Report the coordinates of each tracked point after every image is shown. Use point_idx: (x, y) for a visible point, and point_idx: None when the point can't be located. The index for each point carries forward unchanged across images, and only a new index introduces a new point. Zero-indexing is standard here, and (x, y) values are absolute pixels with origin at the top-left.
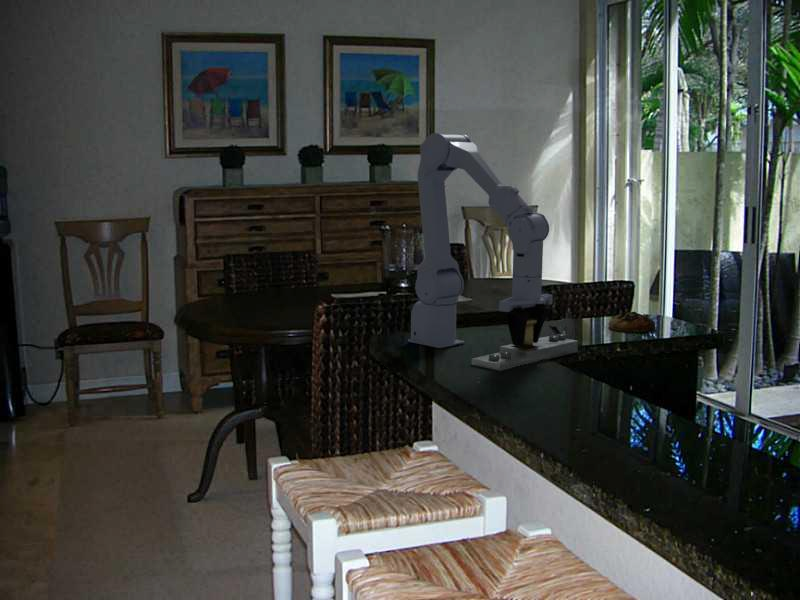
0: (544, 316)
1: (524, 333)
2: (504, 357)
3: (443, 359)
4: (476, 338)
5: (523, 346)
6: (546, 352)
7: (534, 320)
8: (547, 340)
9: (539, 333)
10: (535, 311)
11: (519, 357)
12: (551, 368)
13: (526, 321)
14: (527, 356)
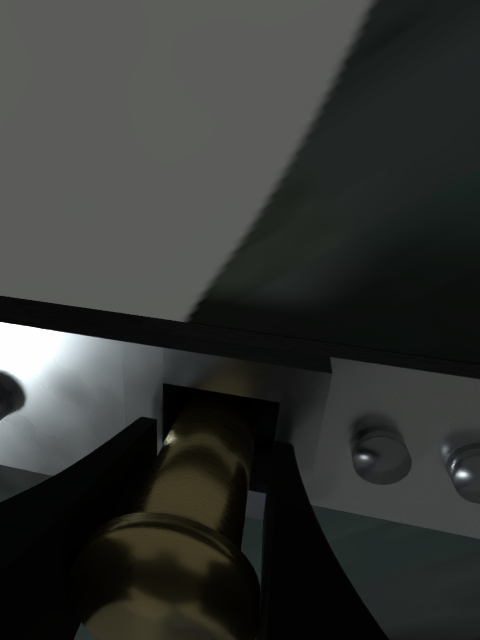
0: (5, 526)
1: (277, 491)
2: (406, 445)
3: (458, 618)
4: (84, 629)
5: (248, 440)
6: (164, 335)
7: (157, 542)
8: (14, 419)
9: (113, 443)
10: (20, 636)
11: (345, 394)
12: (337, 197)
13: (282, 576)
14: (329, 363)
